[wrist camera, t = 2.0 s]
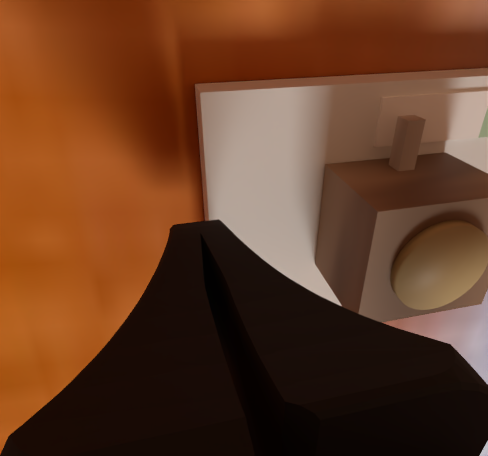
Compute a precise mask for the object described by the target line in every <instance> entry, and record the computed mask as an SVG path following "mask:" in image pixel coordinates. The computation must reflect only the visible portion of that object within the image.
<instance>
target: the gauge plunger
mask: <svg viewBox="0 0 488 456" xmlns="http://www.w3.org/2000/svg"><path fill="white" fill-rule="evenodd" d="M425 121H426V119H423V118H421V117H418V116H416V115H406V116H398V119H397V124H396V129H395V134H394V139H393V144H392V150H391V155H390V158H383V159H373V160H363V161H353V162H343V163H333V164H325V170H324V180H323V190H322V199H321V209H320V219H319V229H318V238H317V248H316V258H315V265H316V267H317V268H318V270H319V271H320V273H321V274H322V276H323V277H324V279H325V280H326V282H327V283H328V285H329V287H330V288H331V290H332V291H333V293H334V294H335V296H336V297H337V299H338V300H339V302H340V303H341V305H342V307H344V308H346V309H348V310H351V311H353V312H356V313H358V314H360V315H363V316H365V317H368V318H370V319H373V320H376V321H378V322H386V321H392V320H397V319H402V318H408V317H413V316H419V315H424V314H429V313H435V312H440V311H446V310H451V309H456V308H462V307H467V306H473V305H478V304H482V301H483V299H484V296H485V294H486V291H487V289H488V173H486V172H484V171H482V170H480V169H478V168H476V167H474V166H472V165H470V164H468V163H466V162H464V161H462V160H460V159H458V158H456V157H454V156H452V155H450V154H448V153H446V152H444V153H434V154H424V155H418V151H419V147H420V143H421V138H422V134H423V130H424V125H425Z"/></svg>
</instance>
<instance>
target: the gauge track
mask: <svg viewBox="0 0 488 456" xmlns="http://www.w3.org/2000/svg"><path fill="white" fill-rule="evenodd" d="M195 94H196V108H197V121H198V134H199V147H200V161H201V174H202V187H203V201H204V214H205V221H209V220H218V219H219V220H220V221H222V222H223V223H224V224H225V225H226V226H227V227H228V228H229V229H230V230H231V231H232V232H233V233H234V234H235V235H236V236H237V237H238V238H239V239H240V240H241V241H242V242H243V243H244V244H246V245H247V246H248V247H249V248H250V249H251V250H252V251H254V252H255V253H256V254H257V255H258V256H259V257H261V258H262V259H263V260H264V261H266V262H267V263H268V264H269V265H271V266H272V267H274V268H275V269H276V270H278V271H279V272H281V273H282V274H284V275H285V276H287V277H288V278H290V279H291V280H293V281H295V282H296V283H298V284H300V285H301V286H303V287H305V288H306V289H308V290H310V291H312V292H314V293H315V294H317V295H319V296H321V297H323V298H325V299H327V300H329V301H331V302H333V303H336V304H338V305H340V306H342V305H341V303H340V302H339V300H338V299H337V297H336V296H335V294H334V293H333V291H332V290H331V288H330V287H329V285H328V283H327V282H326V280H325V279H324V277H323V276H322V274H321V273H320V271H319V270H318V268H317V267H316V265H315V258H316V248H317V238H318V229H319V219H320V209H321V199H322V190H323V180H324V170H325V164H333V163H343V162H353V161H363V160H373V159H383V158H390V155H391V150H392V144H393V139H394V134H395V129H396V124H397V119H398V116H406V115H416V116H418V117H421V118H423V119H426V121H425V125H424V130H423V134H422V138H421V143H420V147H419V151H418V155H424V154H434V153H444V152H446V153H448V154H450V155H452V156H454V157H456V158H458V159H460V160H462V161H464V162H466V163H468V164H470V165H472V166H474V167H476V168H478V169H480V170H482V171H484V172H486V173H488V68H476V69H457V70H439V71H421V72H403V73H384V74H366V75H348V76H329V77H311V78H293V79H274V80H256V81H238V82H219V83H201V84H195Z"/></svg>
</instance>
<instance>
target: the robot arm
mask: <svg viewBox="0 0 488 456" xmlns="http://www.w3.org/2000/svg"><path fill="white" fill-rule="evenodd" d="M487 441H488V385H487V384H486V382H485V381H484V380H483V379H482V378H481V377H480V376H479V375H478V373H477V372H476V371H475V370H474V369H473V368H472V367H471V365H470V364H469V363H468V362H467V361H466V360H465V359H464V358H463V357H462V356H461V355H460V354H459V353H458V352H457V351H456V350H455V349H454V348H453V347H452V346H451V344H447V343H444V342H441V341H437V340H434V339H431V338H428V337H424V336H421V335H418V334H414V333H411V332H408V331H404V330H401V329H398V328H395V327H392V326H389V325H386V324H384V323H381V322H378V321H376V320H373V319H370V318H368V317H365V316H363V315H360V314H358V313H356V312H353V311H351V310H348V309H346V308H344V307H342V306H340V305H338V304H336V303H333V302H331V301H329V300H327V299H325V298H323V297H321V296H319V295H317V294H315V293H314V292H312V291H310V290H308V289H306V288H305V287H303V286H301V285H300V284H298V283H296V282H295V281H293V280H291V279H290V278H288V277H287V276H285V275H284V274H282V273H281V272H279V271H278V270H276V269H275V268H274V267H272V266H271V265H269V264H268V263H267V262H266V261H264V260H263V259H262V258H261V257H259V256H258V255H257V254H256V253H255V252H254V251H252V250H251V249H250V248H249V247H248V246H247V245H246V244H244V243H243V242H242V241H241V240H240V239H239V238H238V237H237V236H236V235H235V234H234V233H233V232H232V231H231V230H230V229H229V228H228V227H227V226H226V225H225V224H224V223H223V222H222V221H220V220H219V219H218V220H209V221H201V222H193V223H184V224H176V225H173V226H172V227H171V228H170V233H169V238H168V242H167V245H166V247H165V250H164V253H163V255H162V258H161V260H160V262H159V265H158V267H157V269H156V271H155V273H154V275H153V277H152V279H151V281H150V282H149V284H148V286H147V288H146V290H145V292H144V293H143V295H142V297H141V298H140V300H139V301H138V303H137V304H136V306H135V307H134V309H133V310H132V312H131V313H130V315H129V316H128V318H127V319H126V320H125V322H124V323H123V324H122V325H121V327H120V328H119V329H118V331H117V332H116V333H115V334H114V336H113V337H112V338H111V339H110V341H109V342H108V343H107V344H106V345H105V347H104V348H103V349H102V350H101V351H100V352H99V353H98V355H97V356H96V357H95V358H94V359H93V360H92V361H91V362H90V363H89V364H88V365H87V366H86V367H85V368H84V369H83V370H82V371H81V372H80V373H79V374H78V375H77V376H76V377H75V378H74V379H73V380H72V382H71V383H69V384H68V385H67V386H66V387H65V388H64V389H63V390H62V391H61V392H60V393H59V394H58V395H57V396H55V397H54V398H53V399H52V400H51V401H50V402H48V403H47V404H46V405H45V406H44V407H43V408H41V409H40V410H39V411H38V412H37V413H36V414H35V415H33V416H32V417H31V418H30V419H29V420H28V421H26V422H25V423H24V424H23V425H22V426H21V427H19V428H18V429H17V430H16V431H14V432H13V433H12V434H11V435H10V436H9V437H8V439H7V441H6V443H5V446H4V448H3V450H2V452H1V454H0V456H479V455H480V453H481V452H482V450H483V448H484V446H485V444H486V442H487Z"/></svg>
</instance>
